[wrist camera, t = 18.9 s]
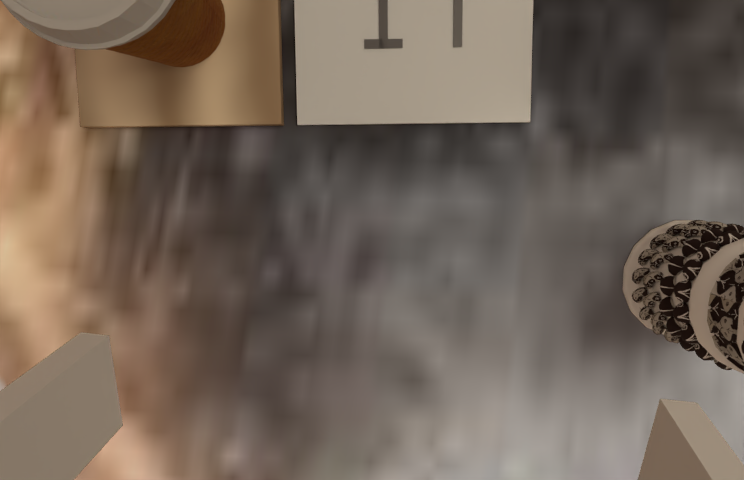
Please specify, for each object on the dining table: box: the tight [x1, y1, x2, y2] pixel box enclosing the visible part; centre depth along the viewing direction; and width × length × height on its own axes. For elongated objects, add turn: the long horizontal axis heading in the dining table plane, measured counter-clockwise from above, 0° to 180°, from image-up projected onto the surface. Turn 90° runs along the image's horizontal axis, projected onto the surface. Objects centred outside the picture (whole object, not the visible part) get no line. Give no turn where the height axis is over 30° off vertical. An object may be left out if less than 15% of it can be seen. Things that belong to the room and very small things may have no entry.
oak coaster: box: [75, 0, 284, 128], centre depth 34 cm, size 14×14×1 cm
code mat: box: [294, 0, 533, 125], centre depth 34 cm, size 16×14×1 cm
